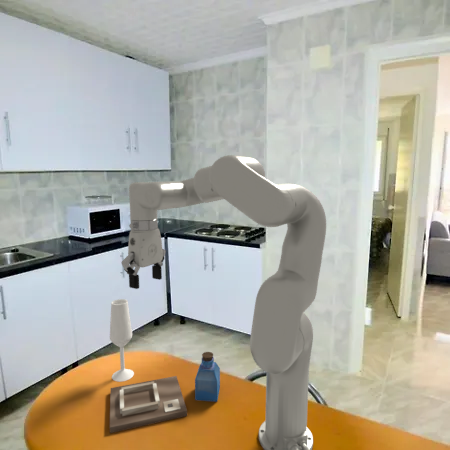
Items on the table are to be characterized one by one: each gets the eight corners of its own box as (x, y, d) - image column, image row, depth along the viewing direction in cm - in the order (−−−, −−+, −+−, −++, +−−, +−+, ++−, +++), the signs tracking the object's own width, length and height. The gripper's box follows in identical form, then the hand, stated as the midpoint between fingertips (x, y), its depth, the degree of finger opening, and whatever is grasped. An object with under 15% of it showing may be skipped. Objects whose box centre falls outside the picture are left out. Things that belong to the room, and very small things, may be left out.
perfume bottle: (219, 387, 98) (219, 349, 96) (217, 401, 92) (217, 361, 90) (199, 386, 98) (198, 348, 97) (195, 400, 92) (194, 360, 91)
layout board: (187, 415, 86) (187, 405, 86) (110, 433, 80) (109, 421, 80) (176, 380, 101) (176, 371, 101) (110, 392, 95) (110, 383, 95)
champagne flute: (137, 369, 107) (134, 298, 103) (128, 382, 100) (125, 306, 97) (117, 368, 108) (114, 297, 104) (107, 380, 101) (103, 305, 98)
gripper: (132, 230, 85) (134, 294, 88) (173, 222, 101) (174, 277, 103) (111, 228, 89) (114, 289, 91) (154, 221, 104) (155, 274, 106)
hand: (146, 283), depth 97 cm, fingers open, 9 cm apart
